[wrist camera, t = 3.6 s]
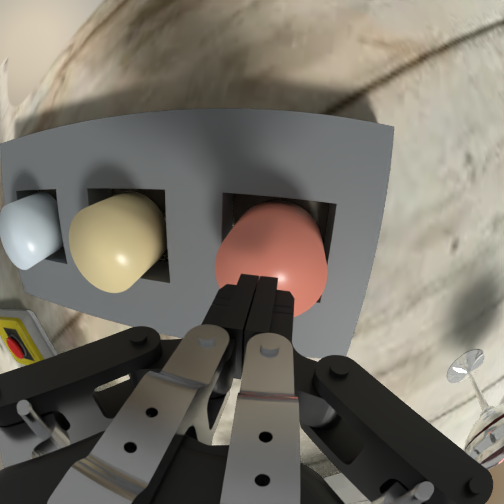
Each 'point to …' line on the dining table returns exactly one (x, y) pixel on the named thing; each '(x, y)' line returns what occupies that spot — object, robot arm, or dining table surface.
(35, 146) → the control panel
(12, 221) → the blue button
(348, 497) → the basket
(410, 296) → the dining table surface
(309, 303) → the red button
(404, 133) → the dining table surface
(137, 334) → the robot arm
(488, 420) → the wineglass
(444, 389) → the dining table surface
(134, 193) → the ochre button
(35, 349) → the emergency button
